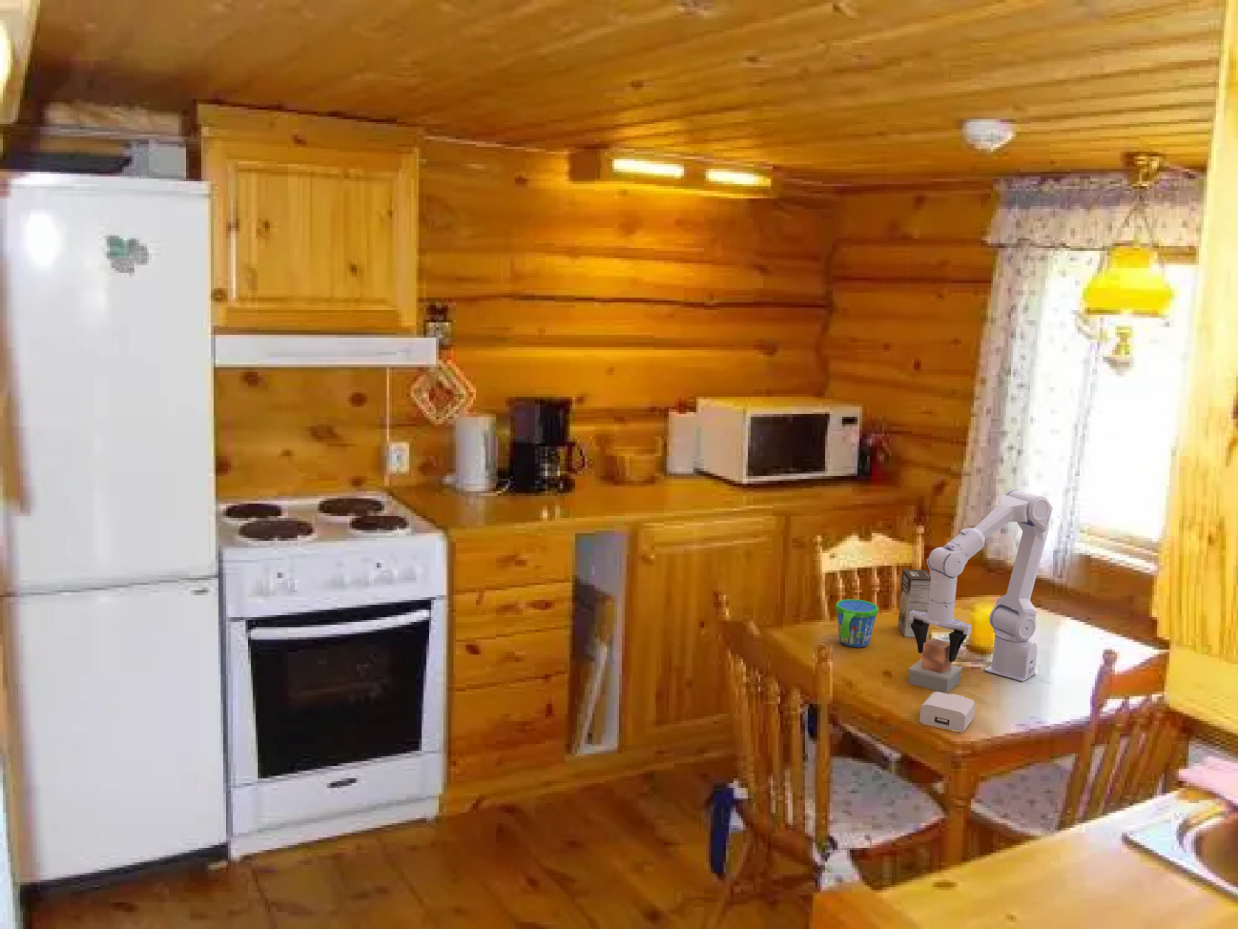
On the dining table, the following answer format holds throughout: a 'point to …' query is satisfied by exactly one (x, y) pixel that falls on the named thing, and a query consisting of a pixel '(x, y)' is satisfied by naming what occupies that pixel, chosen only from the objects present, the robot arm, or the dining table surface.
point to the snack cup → (855, 621)
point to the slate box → (934, 677)
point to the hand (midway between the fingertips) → (936, 656)
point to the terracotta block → (936, 656)
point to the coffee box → (913, 597)
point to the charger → (947, 711)
